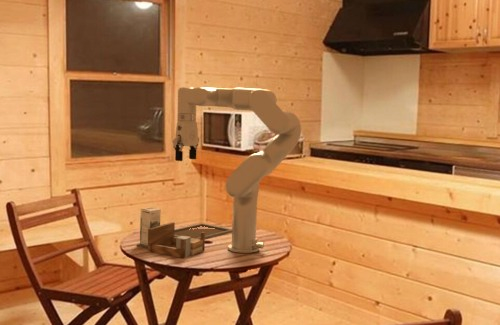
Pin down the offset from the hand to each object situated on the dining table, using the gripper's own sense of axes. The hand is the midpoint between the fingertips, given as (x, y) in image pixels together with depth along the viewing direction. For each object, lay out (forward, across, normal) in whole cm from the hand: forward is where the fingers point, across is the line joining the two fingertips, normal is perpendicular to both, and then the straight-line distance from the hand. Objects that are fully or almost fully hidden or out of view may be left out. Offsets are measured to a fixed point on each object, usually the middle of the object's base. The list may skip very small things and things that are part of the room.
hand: (185, 159), depth 238 cm
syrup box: (+34, -13, +8) cm, 37 cm away
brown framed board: (+35, +18, +4) cm, 40 cm away
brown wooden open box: (+34, -13, -6) cm, 37 cm away
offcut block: (+34, -17, -12) cm, 40 cm away
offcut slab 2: (+35, -11, -12) cm, 38 cm away
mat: (+34, -13, +8) cm, 38 cm away
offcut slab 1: (+32, -11, -12) cm, 36 cm away
